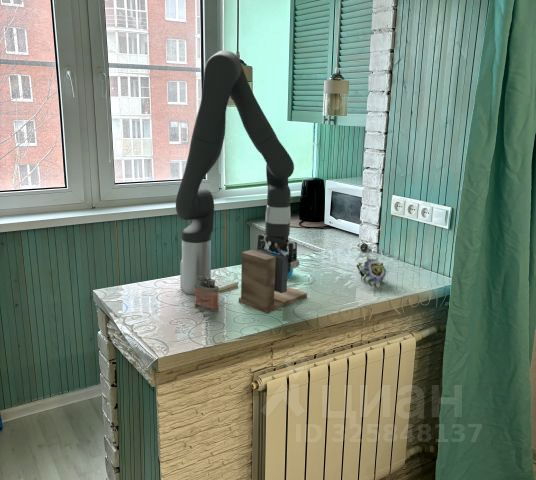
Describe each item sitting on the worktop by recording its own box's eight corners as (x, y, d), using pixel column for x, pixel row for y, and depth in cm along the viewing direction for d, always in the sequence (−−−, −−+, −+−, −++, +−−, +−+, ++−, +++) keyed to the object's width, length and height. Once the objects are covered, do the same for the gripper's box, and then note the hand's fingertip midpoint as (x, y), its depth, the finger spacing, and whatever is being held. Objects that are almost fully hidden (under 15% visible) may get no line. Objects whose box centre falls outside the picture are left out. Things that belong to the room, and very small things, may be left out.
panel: (260, 282, 168) (261, 249, 165) (286, 291, 161) (288, 257, 158) (255, 284, 166) (256, 250, 163) (281, 293, 159) (283, 258, 156)
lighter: (220, 310, 156) (221, 278, 154) (214, 313, 153) (214, 281, 151) (199, 304, 160) (199, 273, 157) (192, 307, 157) (192, 276, 155)
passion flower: (375, 301, 181) (369, 281, 173) (351, 287, 188) (345, 266, 180) (395, 280, 185) (391, 258, 176) (372, 266, 192) (366, 245, 184)
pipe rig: (280, 286, 177) (282, 239, 172) (308, 296, 169) (311, 247, 165) (238, 302, 162) (239, 251, 158) (267, 313, 155) (269, 260, 150)
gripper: (252, 217, 161) (251, 267, 165) (288, 226, 152) (285, 279, 156) (268, 214, 166) (266, 262, 171) (304, 222, 157) (301, 273, 162)
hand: (275, 270), depth 164 cm, fingers open, 8 cm apart
